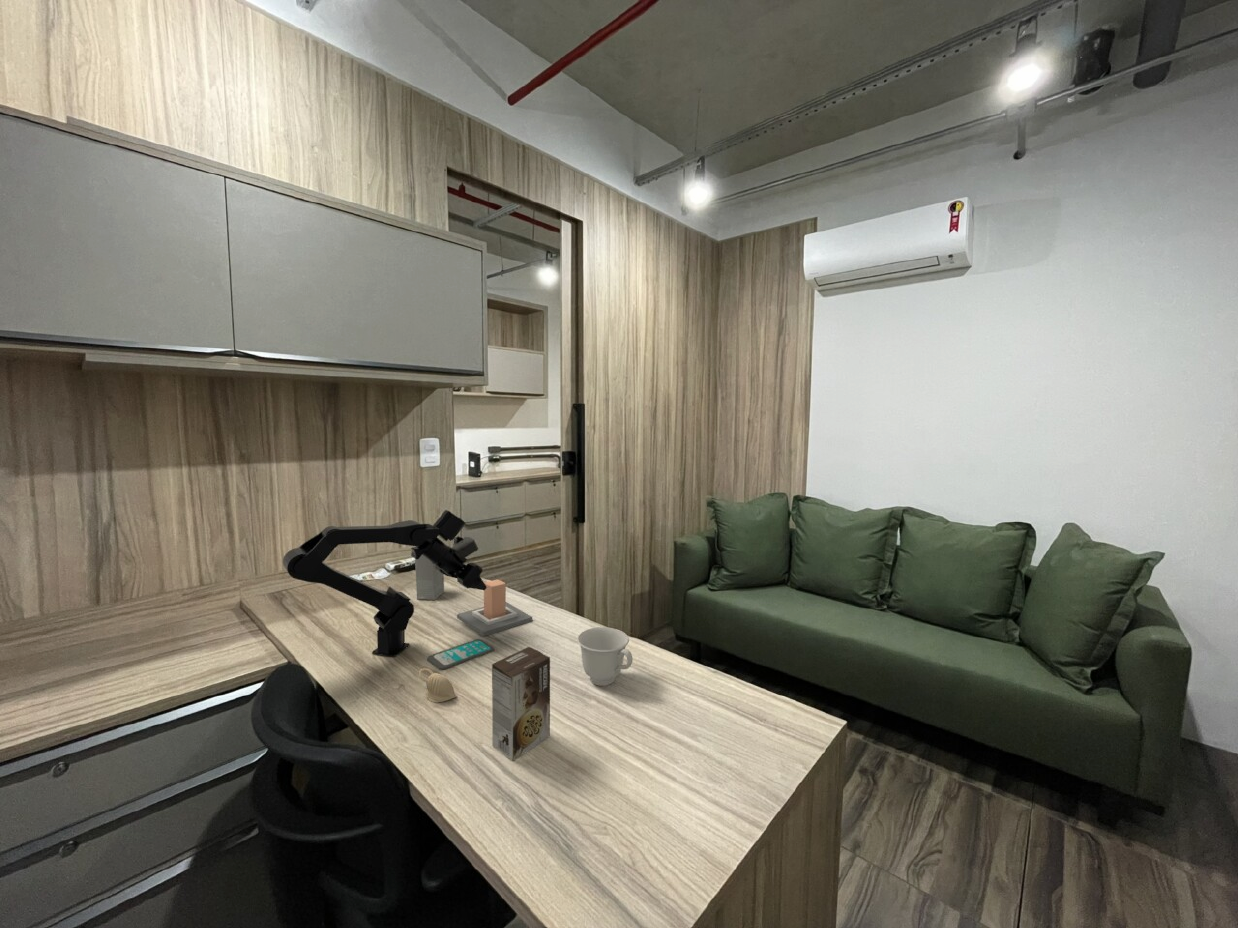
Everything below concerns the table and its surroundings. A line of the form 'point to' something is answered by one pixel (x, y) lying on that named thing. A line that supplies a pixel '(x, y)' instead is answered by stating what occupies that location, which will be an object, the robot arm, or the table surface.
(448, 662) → the smartphone
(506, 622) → the dock board
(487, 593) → the terracotta block
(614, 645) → the teacup
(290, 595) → the table surface
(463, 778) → the table surface
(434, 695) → the beige creamer pitcher
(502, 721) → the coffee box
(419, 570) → the skincare box
